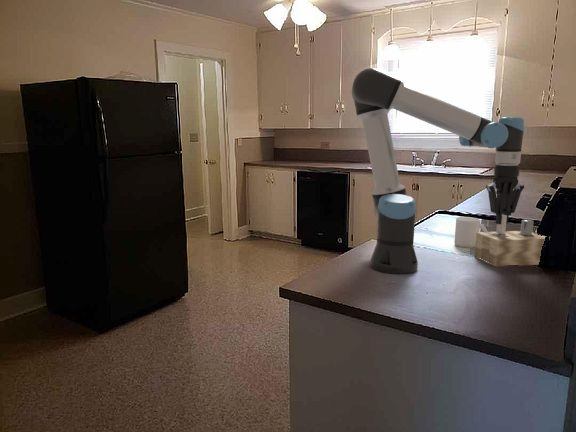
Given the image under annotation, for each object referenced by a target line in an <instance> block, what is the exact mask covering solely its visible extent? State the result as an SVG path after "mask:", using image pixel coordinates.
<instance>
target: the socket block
mask: <svg viewBox="0 0 576 432" xmlns="http://www.w3.org/2000/svg"><path fill="white" fill-rule="evenodd" d="M520 232H521V230H507V231H506V230H505V234H506V237H496V236H494V233H496V231H487V232H485V231H479V232H477V233H476V243H475V247H474V254H473V255H474V258H476V257H478V258H481V259H483V260H485V261H487V262H489V263H491V264H492V265H491V264H490V265H491V266H493V265H494V266H493V267H495V266H496V267H503V266H502V265H516V264H521V265H520V266H539V262H540V256H541V250H542V246H543V244H544V241H545V237H546V236H545V235H542V234H539V233H535V232H533V231H532V236H526V237H525V236H522V235H520ZM538 234H539V235H538ZM541 235H542V236H541ZM478 258H477V259H478ZM485 261H484V262H485ZM487 262H486V263H487ZM489 263H488V264H489Z"/></svg>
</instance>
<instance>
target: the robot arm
mask: <svg viewBox="0 0 576 432" xmlns="http://www.w3.org/2000/svg"><path fill="white" fill-rule="evenodd" d="M351 96H352V99H353V103H354V107H355V113H356V117H358V119H360V120H361V122H362V125H363V130H364V136H365V141H366V146H367V151H368V157H369V162H370V168H371V172H372V178H373V183H374V188H373V191H371V195H372V201H373V206H374V208H373V209H374V216H375V217H376V219H377V228H376V229H377V230H376V231H377V233H376V234H377V235H376V244H375V246H374V249H373V251H372V255H371V257H370V262H369V263H370V265H369V266H370V267H371V268H372V269H373V270H376V271H378V272H381V273H387V274H393V275H394V274H396V275H403V274H404V275H405V274H412V273H414V272H417V270H418V268H419V267H418V265H419V263H418V259H417V255H416V254H417V253H416V251H415V248H414V239H415V225H416V223H415V222H416V213H417V204H416V203H417V202H416V199H415V198H414V197H412V196H410V195H407V189H406V186H405V185H404V184H402V183H401V181H400V176H399V171H398V166H397V161H396V160H397V159H396V154H395V149H394V142H393V137H392V133H391V127H390V121H389V116H388V114H389V112H390V111H391V110H396V111H398V112H401V113H403V114H405V115H408V116H411V117H413V118H415V119H418V120H419V121H422V122H425V123H428V124H429V125H431V126H435V127H437V128H440V129H442V130H445V131H447V132H449V133H451V134H454V135H457V136H458V140H459V144H460V145H461V146H463V147H481V148H488V149H495V148H496V149H495V159H494V160H495V161H494V163H495V165H494V171H493V176H494V178H493V180H492V183H490V184H486V185H485V188H486V190H487V193H488V200H489V208H490V212H491V213H493V214H495V224H496V229H495V230H496V231H495V232H496V233H499V234H505V231H506V230H507V225H508V223H509V218H510V217H509V216H511V215H512V214H514V213H515V212H516V209H517V206H518V204H519V200H520V197H521V194H522V192H523V191H524V189H525V185H524V184H520V183H519V175H520V167H521V166H520V165H519V164H521V157H522V156H521V155H522V147H523V146H522V145H523V138H524V133H525V131H524V130H525V120H524V118H523V117H520V116H511V117H510V116H507V117H506V116H505V117H500V118H499V119H498V121H492V120H490V119H487V118H485V117H481V115H477V114H475V113H473V112H470V111H468V110H465V109H464V108H461V107H458V106H455V105H453V104H451V103H449V102H446V101H444V100H441V99H439V98H437V97H434V96H431V95H429V94H427V93H424V92H422V91H420V90H418V89H415V88H412V87H410V86H407V85H405V84H404V80H402V79H400V78H398V77H395V76H393V75H392V74H389V73H388V72H385V71H383V70H381V69H379V68H374V67H369V68H365V69H362V70H361V71H360V72H359V73H358V74H357V75H355V77H354V79H353V82H352V86H351Z"/></svg>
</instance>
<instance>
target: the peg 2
mask: <svg viewBox="0 0 576 432" xmlns="http://www.w3.org/2000/svg"><path fill="white" fill-rule="evenodd" d="M534 223H535V222H534V220H531V219H522V220H521V223H520V231H521V232H520V235H522V236H525V237H526V236H532V232H533V230H534V229H533V228H534Z"/></svg>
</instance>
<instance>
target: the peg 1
mask: <svg viewBox="0 0 576 432" xmlns="http://www.w3.org/2000/svg"><path fill="white" fill-rule="evenodd" d="M494 236H496V237H506V234H499V233H494Z"/></svg>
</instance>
